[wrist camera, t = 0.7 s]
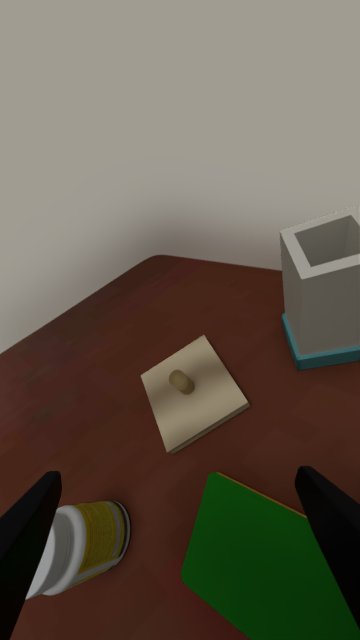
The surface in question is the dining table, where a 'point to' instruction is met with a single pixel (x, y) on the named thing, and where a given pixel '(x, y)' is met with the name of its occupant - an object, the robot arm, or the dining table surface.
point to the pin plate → (191, 394)
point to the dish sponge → (263, 567)
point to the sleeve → (322, 289)
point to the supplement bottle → (81, 545)
